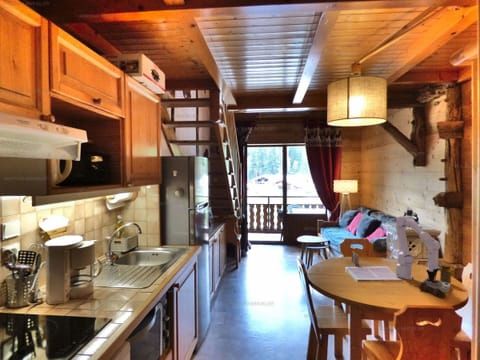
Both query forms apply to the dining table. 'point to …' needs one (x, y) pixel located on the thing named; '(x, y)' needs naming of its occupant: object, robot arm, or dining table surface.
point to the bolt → (431, 290)
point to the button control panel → (438, 285)
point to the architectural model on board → (355, 258)
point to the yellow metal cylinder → (445, 274)
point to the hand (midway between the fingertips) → (432, 279)
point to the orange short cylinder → (433, 281)
